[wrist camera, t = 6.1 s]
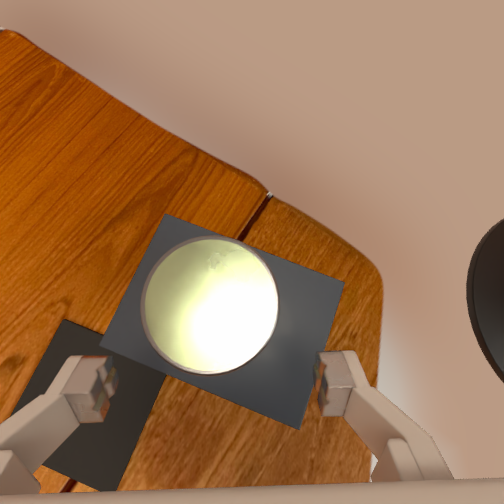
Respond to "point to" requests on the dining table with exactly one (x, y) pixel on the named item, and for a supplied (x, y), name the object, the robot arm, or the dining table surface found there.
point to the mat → (116, 420)
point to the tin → (210, 305)
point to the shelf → (274, 354)
